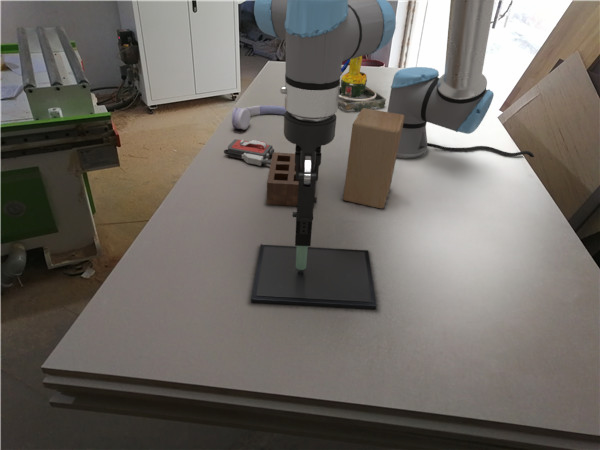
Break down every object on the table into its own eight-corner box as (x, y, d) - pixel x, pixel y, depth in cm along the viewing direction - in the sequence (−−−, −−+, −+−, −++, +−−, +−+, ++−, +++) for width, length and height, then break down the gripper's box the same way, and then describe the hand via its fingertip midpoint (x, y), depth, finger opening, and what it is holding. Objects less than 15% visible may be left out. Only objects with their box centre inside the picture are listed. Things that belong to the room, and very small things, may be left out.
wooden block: (389, 189, 104) (405, 114, 92) (383, 209, 96) (399, 131, 84) (351, 181, 106) (362, 107, 94) (342, 200, 98) (352, 122, 86)
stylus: (306, 266, 77) (311, 191, 67) (305, 274, 75) (311, 198, 65) (295, 266, 77) (299, 190, 67) (295, 273, 75) (298, 197, 65)
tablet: (367, 253, 83) (368, 249, 82) (375, 309, 71) (376, 305, 70) (260, 247, 83) (260, 243, 82) (251, 302, 71) (251, 298, 70)
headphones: (300, 141, 123) (311, 120, 140) (301, 118, 119) (313, 100, 136) (230, 132, 126) (249, 113, 143) (229, 110, 123) (249, 93, 139)
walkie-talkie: (220, 159, 112) (288, 172, 108) (219, 145, 110) (288, 157, 106) (233, 146, 119) (298, 158, 115) (232, 132, 117) (298, 144, 112)
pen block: (312, 174, 108) (313, 154, 104) (311, 206, 96) (313, 185, 92) (272, 172, 108) (272, 152, 104) (267, 204, 96) (266, 182, 92)
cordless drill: (389, 107, 150) (403, 24, 133) (344, 112, 143) (353, 27, 127) (363, 91, 163) (373, 15, 147) (321, 96, 157) (327, 17, 140)
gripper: (287, 92, 64) (284, 214, 78) (280, 132, 52) (278, 267, 66) (334, 95, 64) (323, 216, 78) (339, 135, 52) (324, 270, 66)
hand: (303, 239), depth 72 cm, fingers closed on stylus, 2 cm apart
